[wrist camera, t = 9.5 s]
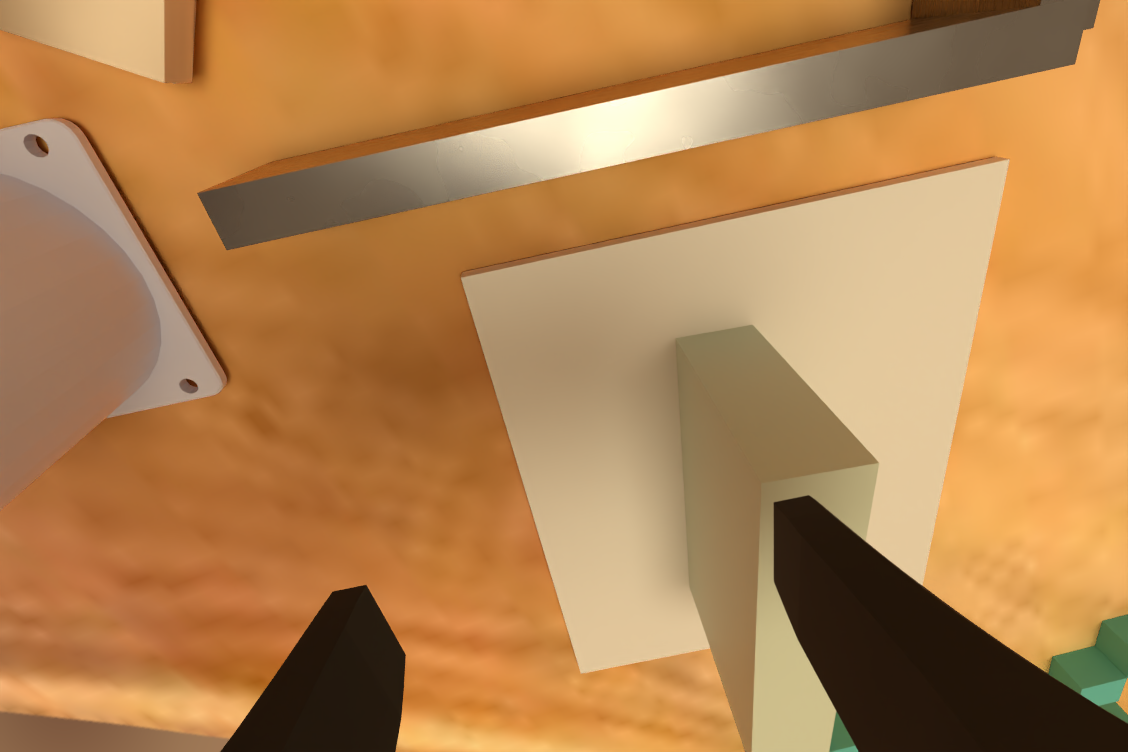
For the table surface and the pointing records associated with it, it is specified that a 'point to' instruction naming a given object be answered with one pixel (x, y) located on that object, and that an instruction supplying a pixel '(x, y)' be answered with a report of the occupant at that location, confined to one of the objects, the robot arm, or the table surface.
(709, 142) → the offcut rack
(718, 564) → the sage board
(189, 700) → the table surface
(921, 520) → the rubber mat
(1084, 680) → the alien figure
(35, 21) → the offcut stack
